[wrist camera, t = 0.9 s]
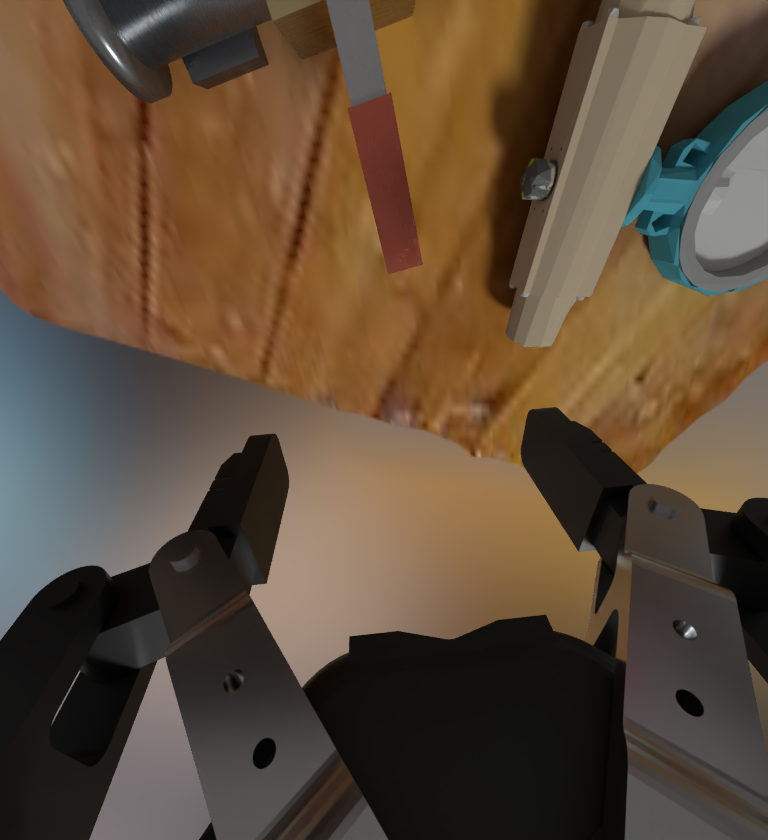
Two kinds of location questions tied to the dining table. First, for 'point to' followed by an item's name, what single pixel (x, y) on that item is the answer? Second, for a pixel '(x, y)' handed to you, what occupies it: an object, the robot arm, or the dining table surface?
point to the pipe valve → (204, 36)
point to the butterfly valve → (639, 172)
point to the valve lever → (376, 132)
